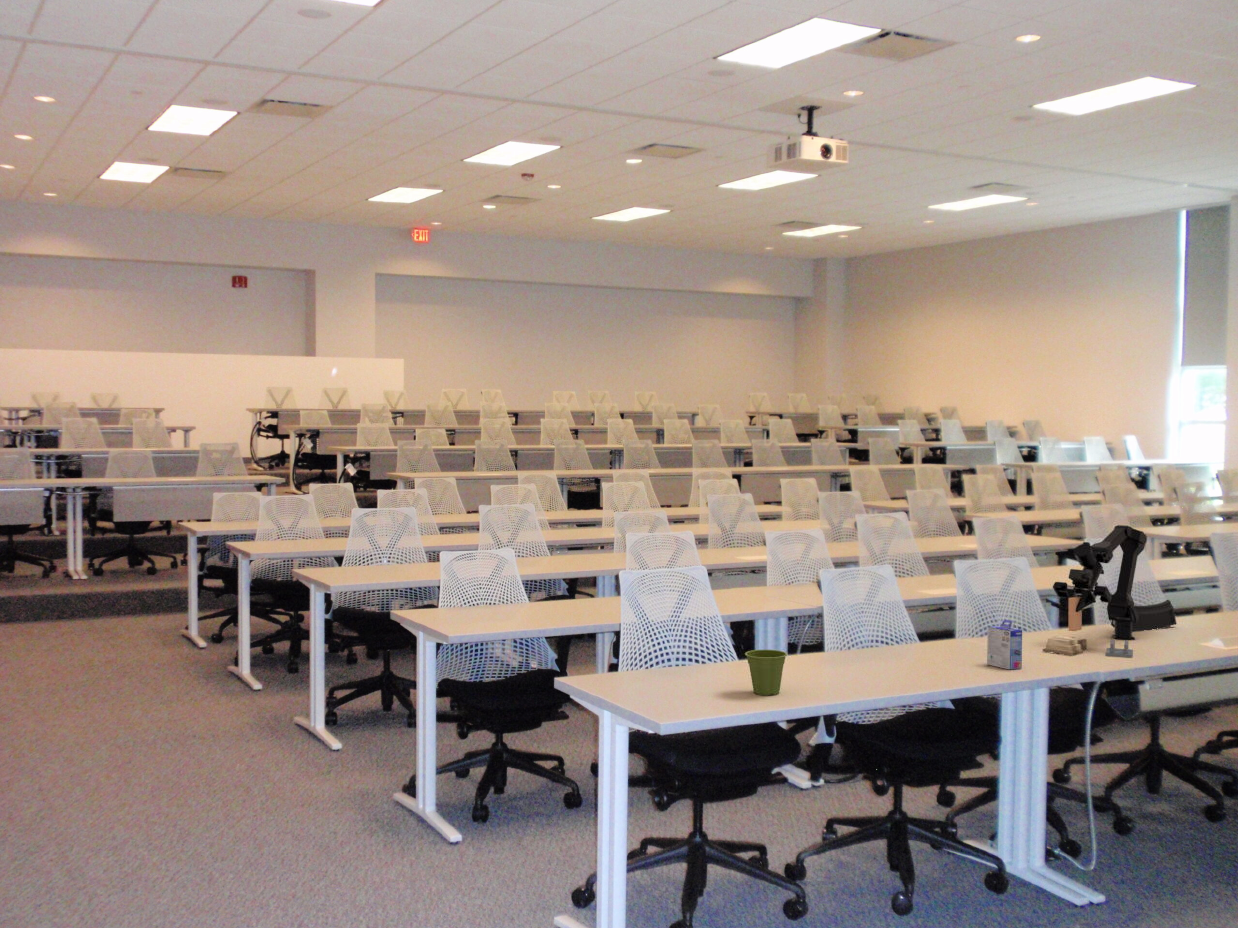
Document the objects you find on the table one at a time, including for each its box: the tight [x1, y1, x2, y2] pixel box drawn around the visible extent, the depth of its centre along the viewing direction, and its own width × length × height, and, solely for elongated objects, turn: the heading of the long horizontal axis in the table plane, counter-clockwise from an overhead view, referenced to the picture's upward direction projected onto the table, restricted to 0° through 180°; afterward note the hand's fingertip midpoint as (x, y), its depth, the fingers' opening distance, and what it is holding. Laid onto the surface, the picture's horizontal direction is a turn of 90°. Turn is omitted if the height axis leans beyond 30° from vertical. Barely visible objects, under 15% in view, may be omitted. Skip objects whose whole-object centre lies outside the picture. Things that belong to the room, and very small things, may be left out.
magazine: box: [1110, 599, 1177, 632], centre depth 424 cm, size 17×3×30 cm
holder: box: [1104, 639, 1134, 659], centre depth 376 cm, size 10×8×4 cm
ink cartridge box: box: [986, 619, 1023, 670], centre depth 356 cm, size 10×6×14 cm, turn 27°
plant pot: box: [744, 649, 788, 697], centre depth 320 cm, size 12×12×11 cm
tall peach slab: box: [1068, 596, 1083, 632], centre depth 384 cm, size 5×2×11 cm, turn 130°
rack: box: [1042, 635, 1088, 657], centre depth 382 cm, size 15×10×5 cm, turn 130°
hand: (1073, 610), depth 383 cm, fingers closed on tall peach slab, 2 cm apart
